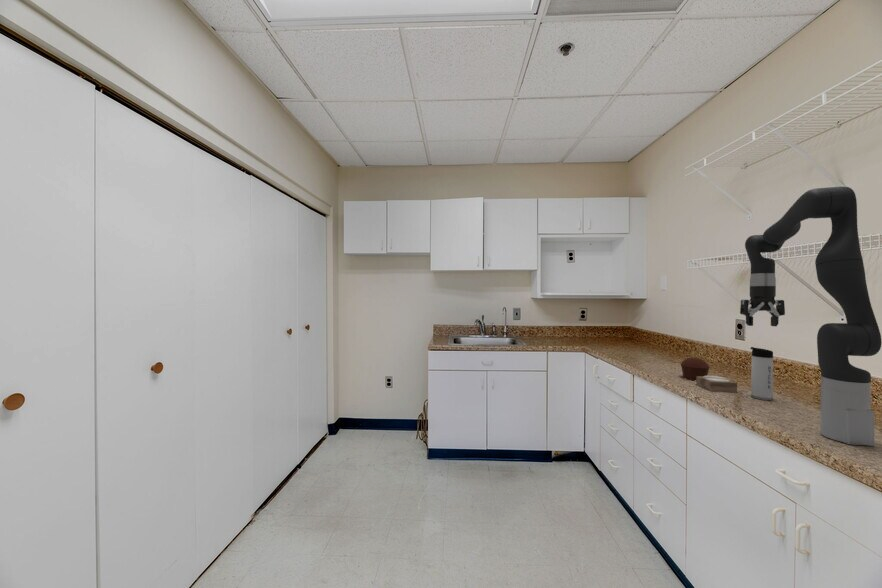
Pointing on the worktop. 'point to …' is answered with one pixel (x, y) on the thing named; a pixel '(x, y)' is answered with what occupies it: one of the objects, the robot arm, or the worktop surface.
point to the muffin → (694, 368)
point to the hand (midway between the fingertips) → (761, 325)
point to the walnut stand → (716, 384)
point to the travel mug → (762, 374)
